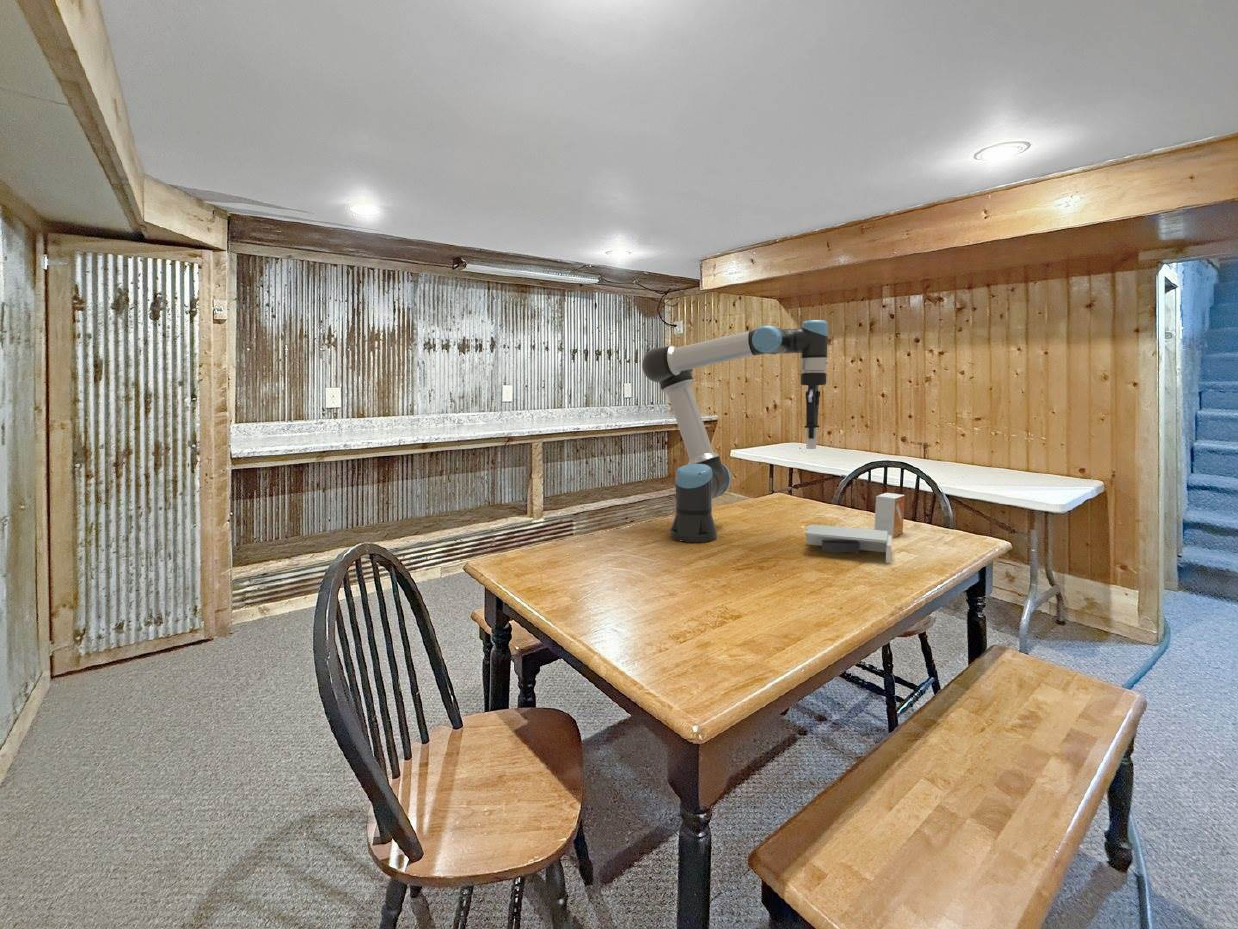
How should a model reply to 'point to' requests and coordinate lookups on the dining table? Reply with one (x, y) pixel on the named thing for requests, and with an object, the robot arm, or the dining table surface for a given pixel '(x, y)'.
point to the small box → (889, 513)
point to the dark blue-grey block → (840, 546)
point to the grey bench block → (863, 544)
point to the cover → (847, 533)
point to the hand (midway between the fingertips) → (811, 448)
